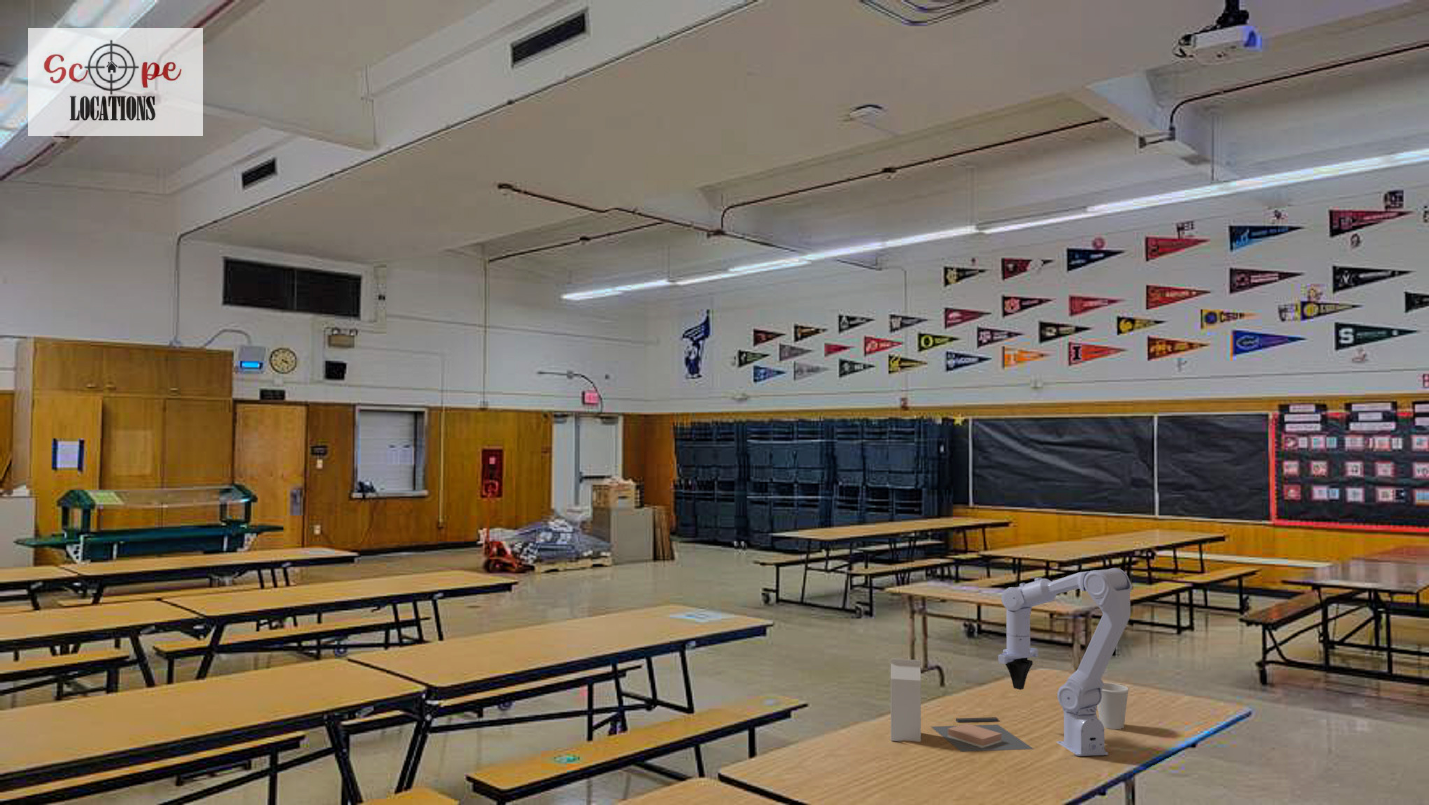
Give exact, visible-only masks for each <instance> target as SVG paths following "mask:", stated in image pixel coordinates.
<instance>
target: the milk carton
mask: <svg viewBox="0 0 1429 805" xmlns="http://www.w3.org/2000/svg"><path fill="white" fill-rule="evenodd" d="M921 676H922V674H921V660H918V659H901V658H891V659H890V741H892V742H904V741H906V742H907V741H909V742H922V732H921V730H922V729H921V728H922V720H921V719H922V718H921V715H922V710H921V709H922V708H921V707H922V706H921V705H922V703H921V702H922V690H921V689H922V686H921V685H922V680H921Z"/></svg>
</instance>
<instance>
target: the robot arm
mask: <svg viewBox="0 0 1429 805" xmlns="http://www.w3.org/2000/svg"><path fill="white" fill-rule="evenodd" d="M1078 589H1079V590H1080V591H1082V592H1086V593H1087V594H1088V595H1089V597H1091V599H1092V600H1093V601H1094V603H1095V604H1096V606H1098V608H1099V609H1100V611H1101V613H1102V616H1101V618H1100V620H1099V622H1098V624H1097V626H1096V628H1095V631H1094V633H1093V635H1092V637H1091V640H1090V641H1089V643H1088V646H1087V648H1086V651H1085V653H1084V655H1083V656H1082V659H1081V660H1080V662H1079V665H1078V667H1077V670H1075V672H1073V673H1072V674H1071V675H1070V676H1068V678H1067V680H1066V682H1065V683H1064V684H1062V685H1061V686H1060V687H1059V688H1058V690H1057V694H1056V695H1057V700H1058V703H1059V705H1060V706H1061V708H1062V711H1063V740H1058V741H1056V743H1057V744H1058V745H1060V746H1062V747H1063V748H1064V749H1067V750H1068V751H1069V752H1071V753H1073V755H1075V756H1077V757H1087V756H1089V757H1091V756H1108V755H1109V752H1107V751H1106V750H1105V749H1106V748H1105V747H1106V745H1105V728H1104V726H1103V724H1102V722H1101V721H1100V720H1099V717H1098V715H1097V711H1098V706H1097V705H1098V704H1099V703H1100V702H1101V699H1102V688H1103V686H1104V683H1105V682H1104V681H1103V680H1102V677H1103V675H1104V673H1105V671H1106V669H1107V666H1108V664H1109V662H1110V660H1111V658H1112V656H1113V654H1114V652H1115V650H1116V647H1117V646H1118V644H1119V641H1120V639H1121V637H1122V636H1123V634H1124V631H1125V629H1126V627H1127V625H1128V622H1129V620H1130V618H1131V592H1132V590H1133V584H1132V582H1131V580H1130V578H1129V576H1128V574H1127V573H1126V572H1125V571H1124V570H1122V569H1121V568H1118V567H1112V568H1109V569H1099V570H1098V569H1097V570H1090V571H1089V570H1088V571H1080V572H1077V573H1073V574H1070V575H1067V576H1065V577H1061V578H1059V579H1056V580H1053V581H1051V580H1050V579H1048V578H1042V577H1041V576H1040V577H1036V578H1034V581H1031V582H1028V583H1025V582H1021V583H1019V586H1015V587H1014V586H1013V587H1012V586H1011V587H1010V586H1009V587H1008V588H1006V589H1004V591H1002V594H1001V603H1002V605H1003V606H1004V608H1005V609H1006V610H1005V611H1006V616H1005V617H1006V620H1005V621H1006V627H1005V628H1006V648H1005V649H1003V650H1002V653H1001V654H998V655H997V660H998V664H1003V665H1005V666H1006V668H1007V670H1008V673H1009V675H1010V679H1011V684H1012V686H1013V689H1016V690H1020V691H1021V690H1022V691H1023V690H1024V689H1025V686H1026V681H1027V677H1028V675H1029V671H1030V669H1031V668H1032V666H1033V664H1034V663H1033V660H1030V659H1029V658H1032V657H1034V658H1037V657H1039V649H1038V648H1034V647H1031V615H1032V608H1033V607H1036V606H1039V605H1040V606H1041V605H1044V604H1047V603H1050V602H1053V601H1055V599H1056V598H1057V597H1056V596H1057V595H1058V594H1063V593H1067V592H1071V591H1075V590H1078Z"/></svg>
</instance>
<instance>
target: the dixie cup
mask: <svg viewBox="0 0 1429 805" xmlns="http://www.w3.org/2000/svg"><path fill="white" fill-rule="evenodd" d="M1103 683H1104V686H1103V688H1102V699H1101V702H1100V703H1099V704H1098V705H1097V712H1098V719H1099V720H1100V721H1101V722H1102V724H1103V726H1104V727H1105V728H1104V729H1108V728H1110V730H1116V729H1119V730H1122V729H1121V728H1123V729H1124V728H1125V722H1126V713H1127V712H1126V711H1127V706H1128V705H1127V704H1128V703H1127V702H1128V696H1129V691H1130V689H1129V687H1127V686H1125V685H1122V684H1118V683H1112V682H1103Z"/></svg>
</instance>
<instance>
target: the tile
mask: <svg viewBox="0 0 1429 805" xmlns="http://www.w3.org/2000/svg"><path fill="white" fill-rule="evenodd" d="M974 725H975V724H970V723H968V722H965V723H963V724H960V725H955V726H956V727H952V728H949V729H948V737H949V738H953V739H956V740H959V741H962V742H965V743H968V744H972V745H975V746H978V747H981V748H984V747H987V746H990V745H993V744H996V743H1000V742H1001V733H998V732H994V731H991V730H988V729H984V728H981V727H977V726H974Z"/></svg>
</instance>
